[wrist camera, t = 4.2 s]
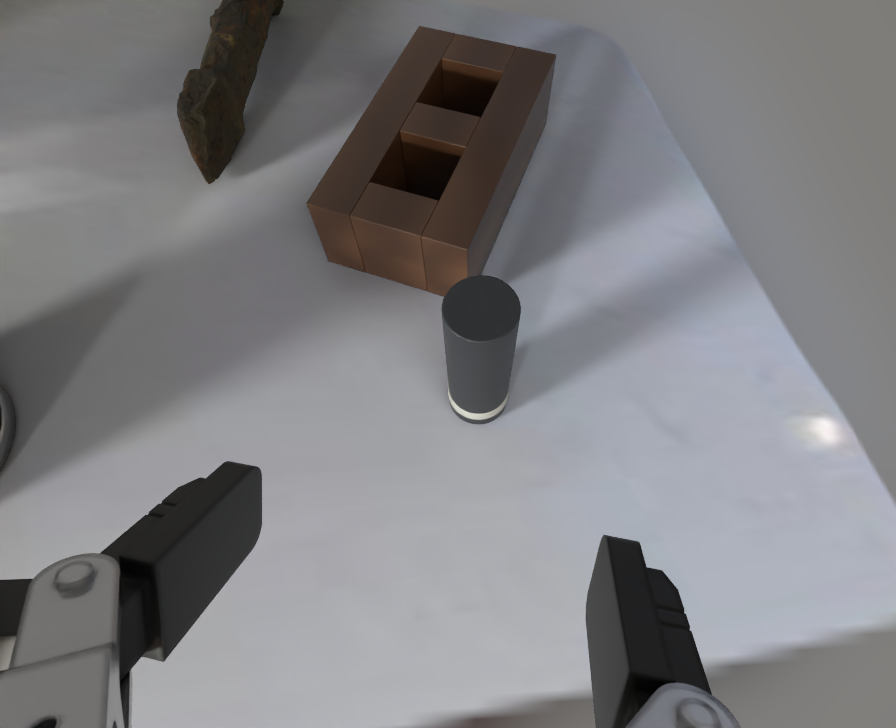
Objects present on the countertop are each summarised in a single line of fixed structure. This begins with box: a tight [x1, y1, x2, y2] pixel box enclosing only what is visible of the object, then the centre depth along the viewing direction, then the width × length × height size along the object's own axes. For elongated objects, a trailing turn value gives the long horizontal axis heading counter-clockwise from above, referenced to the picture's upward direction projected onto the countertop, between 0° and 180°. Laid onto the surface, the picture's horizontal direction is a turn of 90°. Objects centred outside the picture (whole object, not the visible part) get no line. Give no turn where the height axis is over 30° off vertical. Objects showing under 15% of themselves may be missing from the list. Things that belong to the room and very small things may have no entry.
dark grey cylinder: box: [442, 275, 521, 424], centre depth 25 cm, size 3×3×9 cm
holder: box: [307, 26, 556, 297], centre depth 33 cm, size 9×16×5 cm, turn 159°
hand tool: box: [177, 0, 284, 184], centre depth 38 cm, size 19×4×5 cm, turn 176°
